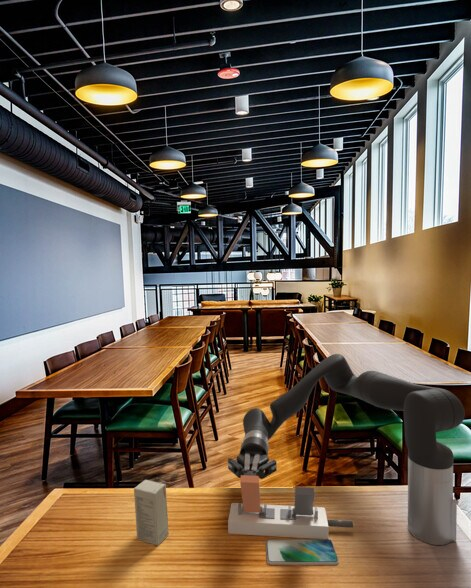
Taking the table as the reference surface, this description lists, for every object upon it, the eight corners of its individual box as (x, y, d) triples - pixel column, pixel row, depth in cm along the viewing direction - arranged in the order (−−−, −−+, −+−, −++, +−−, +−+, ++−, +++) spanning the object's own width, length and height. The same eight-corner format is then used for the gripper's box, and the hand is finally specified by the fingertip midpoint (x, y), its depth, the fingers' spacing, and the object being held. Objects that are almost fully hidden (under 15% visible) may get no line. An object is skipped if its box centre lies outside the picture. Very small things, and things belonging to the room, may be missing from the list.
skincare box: (169, 534, 89) (167, 484, 88) (158, 546, 85) (156, 494, 84) (147, 527, 92) (145, 478, 91) (135, 538, 88) (133, 487, 87)
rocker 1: (262, 507, 92) (260, 476, 85) (262, 514, 91) (260, 483, 83) (242, 506, 93) (238, 475, 85) (242, 513, 92) (238, 482, 84)
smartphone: (265, 538, 86) (331, 538, 86) (265, 542, 86) (331, 542, 86) (267, 562, 79) (339, 562, 79) (267, 566, 79) (339, 566, 79)
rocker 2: (312, 509, 91) (315, 487, 82) (313, 516, 90) (316, 495, 80) (292, 508, 91) (293, 486, 82) (292, 515, 90) (293, 494, 81)
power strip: (349, 520, 93) (349, 501, 92) (355, 540, 86) (355, 520, 85) (231, 514, 96) (231, 496, 96) (228, 533, 89) (227, 513, 89)
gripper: (279, 463, 104) (278, 501, 87) (231, 461, 106) (220, 498, 89) (278, 436, 104) (277, 469, 86) (230, 435, 105) (220, 466, 88)
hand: (248, 483), depth 88 cm, fingers closed
